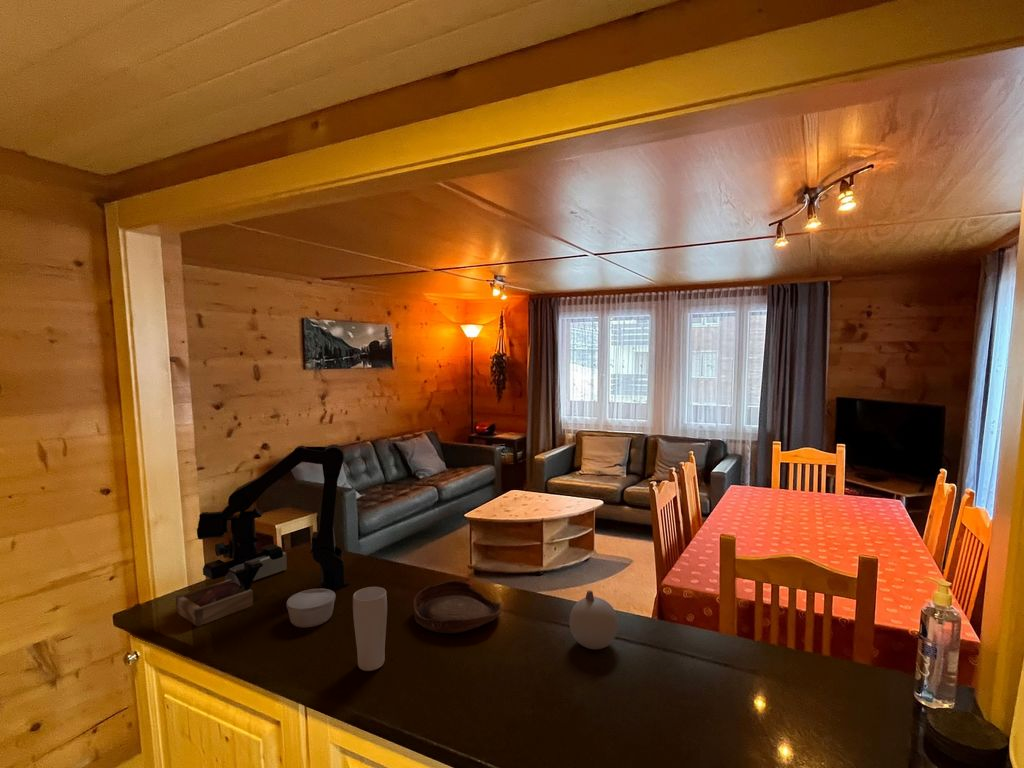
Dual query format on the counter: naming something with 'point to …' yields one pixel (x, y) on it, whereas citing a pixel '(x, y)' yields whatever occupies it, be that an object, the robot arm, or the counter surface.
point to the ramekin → (311, 607)
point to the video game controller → (219, 593)
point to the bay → (211, 605)
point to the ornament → (593, 622)
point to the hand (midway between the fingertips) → (245, 591)
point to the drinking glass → (370, 626)
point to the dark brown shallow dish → (453, 608)
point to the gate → (264, 568)
